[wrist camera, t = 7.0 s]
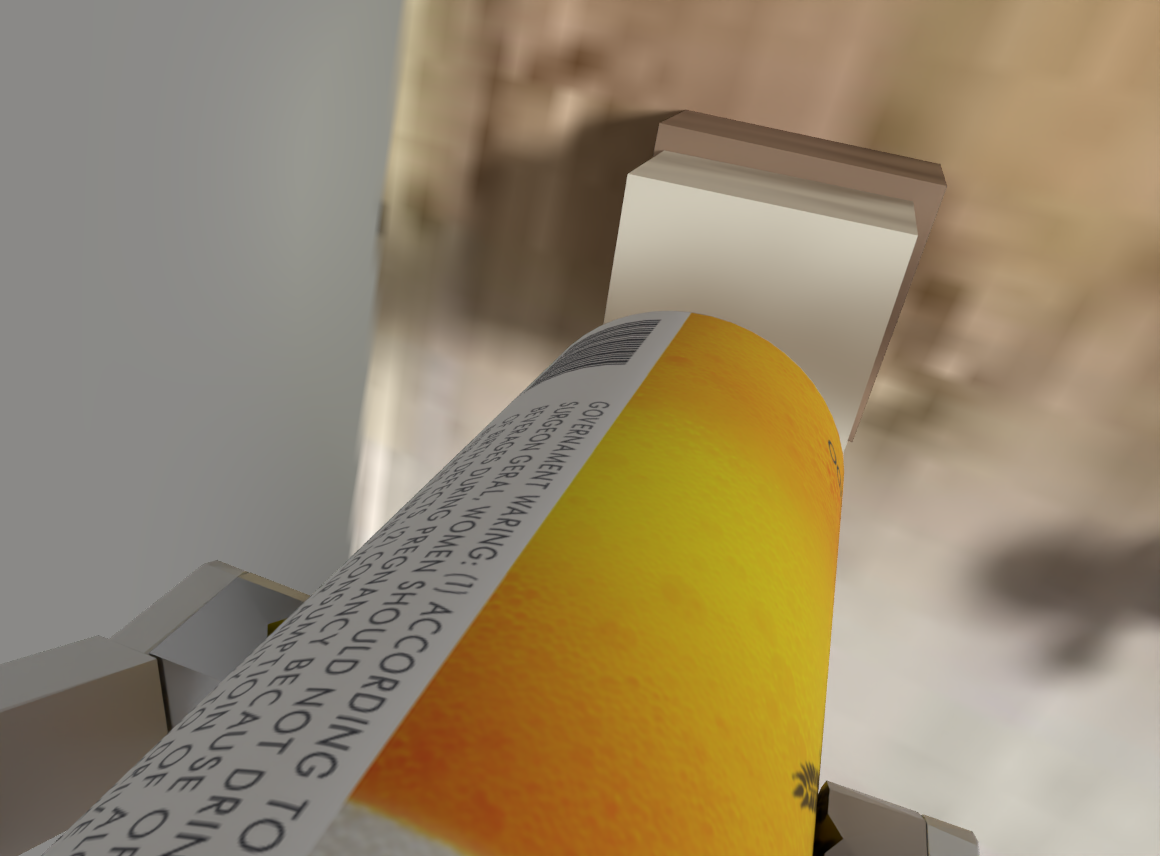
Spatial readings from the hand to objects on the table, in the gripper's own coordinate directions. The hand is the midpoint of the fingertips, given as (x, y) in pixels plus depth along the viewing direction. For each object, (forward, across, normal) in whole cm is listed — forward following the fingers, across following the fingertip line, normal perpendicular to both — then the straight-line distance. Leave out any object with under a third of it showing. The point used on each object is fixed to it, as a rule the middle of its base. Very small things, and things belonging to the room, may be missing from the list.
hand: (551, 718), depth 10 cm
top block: (+18, 0, 0) cm, 18 cm away
